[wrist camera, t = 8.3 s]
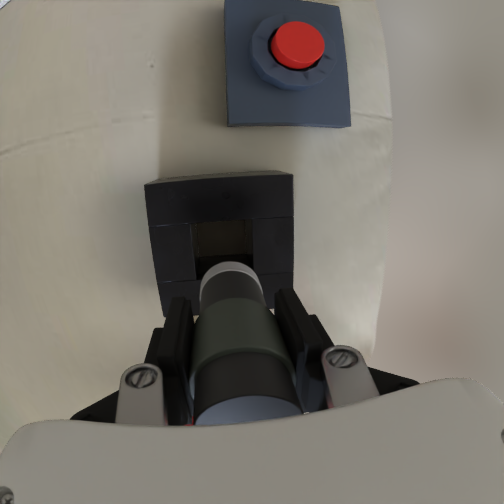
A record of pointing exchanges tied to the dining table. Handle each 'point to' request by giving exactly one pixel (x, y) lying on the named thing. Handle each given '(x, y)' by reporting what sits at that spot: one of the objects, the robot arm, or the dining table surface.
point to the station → (283, 67)
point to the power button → (297, 45)
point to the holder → (220, 209)
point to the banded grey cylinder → (238, 353)
